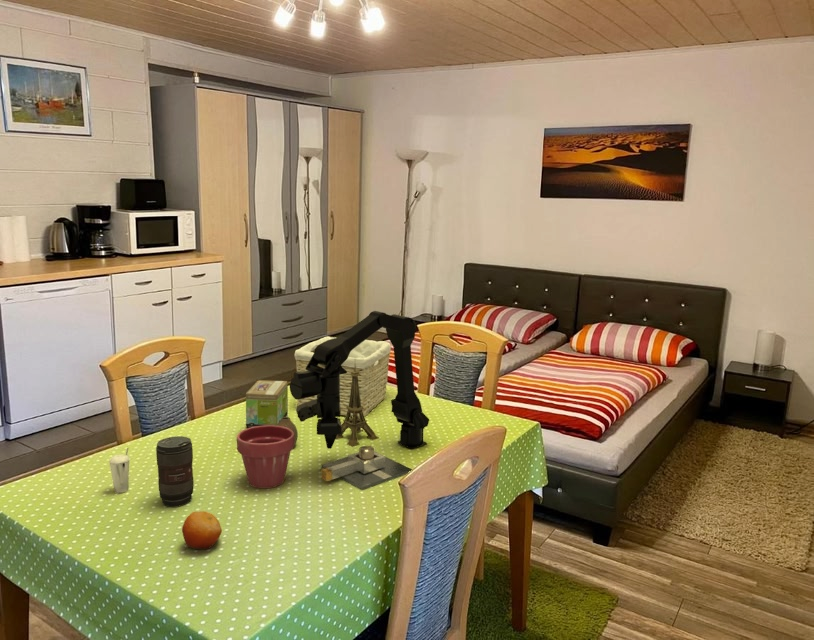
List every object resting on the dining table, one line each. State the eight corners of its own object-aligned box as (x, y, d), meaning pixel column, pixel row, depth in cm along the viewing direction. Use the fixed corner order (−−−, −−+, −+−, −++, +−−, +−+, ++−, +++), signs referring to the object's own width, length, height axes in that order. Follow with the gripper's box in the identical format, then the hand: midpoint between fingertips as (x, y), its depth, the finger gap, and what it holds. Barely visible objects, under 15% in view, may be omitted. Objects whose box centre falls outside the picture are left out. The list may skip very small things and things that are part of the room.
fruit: (178, 529, 140) (197, 499, 139) (211, 545, 141) (229, 516, 140) (168, 549, 132) (187, 517, 131) (203, 566, 133) (222, 535, 133)
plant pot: (286, 466, 177) (286, 421, 175) (301, 486, 165) (300, 439, 162) (233, 474, 171) (231, 428, 169) (244, 497, 158) (242, 447, 156)
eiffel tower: (330, 437, 199) (330, 358, 194) (357, 429, 206) (357, 352, 201) (352, 447, 191) (352, 364, 187) (379, 438, 199) (380, 359, 194)
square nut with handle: (368, 458, 180) (368, 448, 180) (385, 466, 175) (385, 456, 174) (316, 475, 169) (315, 465, 168) (332, 484, 164) (332, 474, 163)
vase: (292, 452, 187) (292, 422, 185) (270, 449, 188) (269, 421, 186) (301, 443, 193) (300, 415, 192) (279, 441, 195) (278, 413, 193)
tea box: (278, 441, 195) (277, 393, 192) (245, 440, 195) (243, 393, 192) (288, 424, 210) (287, 379, 207) (257, 423, 210) (256, 379, 207)
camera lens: (201, 495, 159) (199, 437, 156) (181, 510, 151) (178, 449, 149) (173, 490, 161) (170, 433, 158) (151, 505, 154) (148, 445, 151)
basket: (393, 397, 239) (393, 340, 235) (367, 421, 214) (367, 356, 210) (325, 390, 247) (325, 334, 243) (292, 411, 222) (291, 349, 217)
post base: (370, 452, 188) (370, 432, 186) (412, 472, 174) (412, 451, 173) (321, 467, 176) (321, 446, 175) (361, 490, 163) (362, 467, 162)
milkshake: (137, 486, 163) (135, 449, 161) (122, 495, 158) (119, 457, 156) (123, 484, 164) (120, 446, 163) (107, 492, 160) (104, 454, 158)
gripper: (299, 382, 178) (300, 436, 181) (295, 403, 160) (297, 463, 163) (340, 381, 180) (340, 435, 183) (341, 402, 161) (341, 461, 164)
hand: (329, 448), depth 173 cm, fingers closed
